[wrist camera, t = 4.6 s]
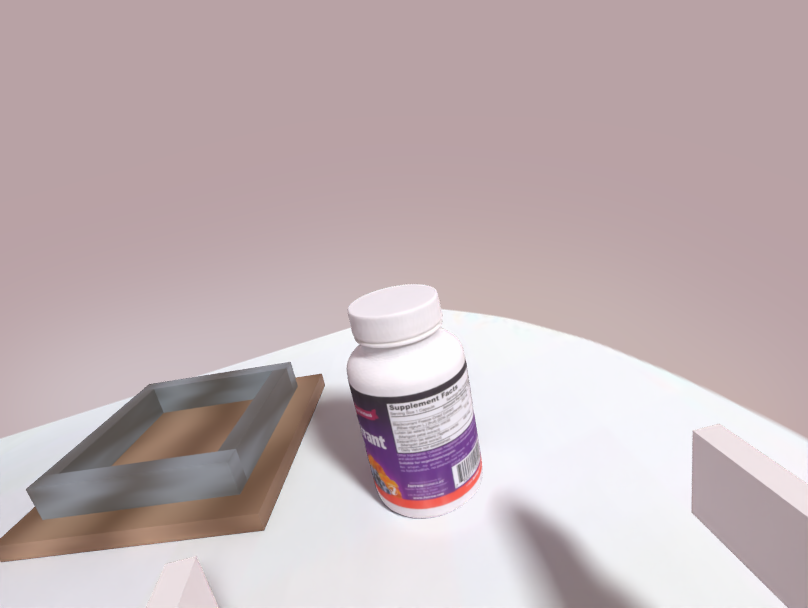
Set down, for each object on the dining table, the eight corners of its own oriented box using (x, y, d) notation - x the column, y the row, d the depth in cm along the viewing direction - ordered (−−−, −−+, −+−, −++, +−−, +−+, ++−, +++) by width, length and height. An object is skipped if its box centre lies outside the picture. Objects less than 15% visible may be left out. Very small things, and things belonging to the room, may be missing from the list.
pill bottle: (370, 463, 25) (328, 296, 22) (462, 435, 25) (434, 271, 22) (386, 538, 20) (334, 334, 17) (502, 501, 20) (472, 300, 17)
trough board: (0, 561, 23) (-29, 515, 22) (156, 410, 36) (142, 377, 35) (264, 530, 21) (245, 478, 20) (324, 385, 35) (315, 349, 34)
